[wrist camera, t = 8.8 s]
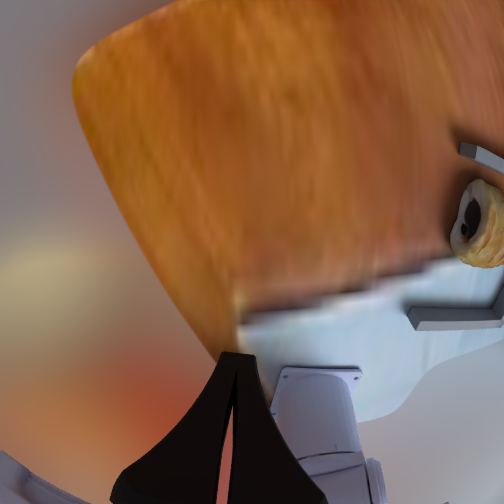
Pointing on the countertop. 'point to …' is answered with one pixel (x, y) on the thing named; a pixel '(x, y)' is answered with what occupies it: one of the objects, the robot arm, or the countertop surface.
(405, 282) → the countertop surface
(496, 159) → the tray slot
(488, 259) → the pastry
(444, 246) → the countertop surface
